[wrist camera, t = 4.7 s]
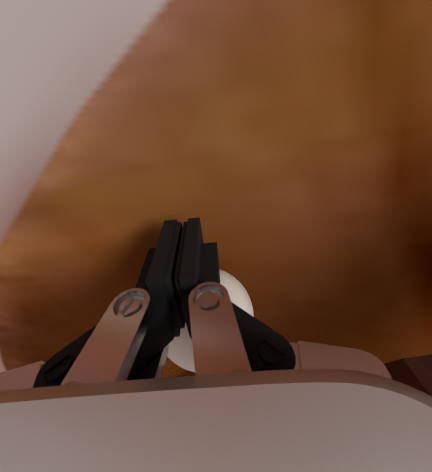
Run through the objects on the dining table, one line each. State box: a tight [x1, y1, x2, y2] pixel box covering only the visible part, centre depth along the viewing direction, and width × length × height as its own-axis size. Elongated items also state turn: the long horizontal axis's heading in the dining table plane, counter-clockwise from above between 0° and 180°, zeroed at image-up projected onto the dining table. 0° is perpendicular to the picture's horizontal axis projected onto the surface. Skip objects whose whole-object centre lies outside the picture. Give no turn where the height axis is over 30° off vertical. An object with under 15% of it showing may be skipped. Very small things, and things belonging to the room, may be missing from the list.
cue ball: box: [167, 269, 254, 372], centre depth 13 cm, size 6×6×6 cm
